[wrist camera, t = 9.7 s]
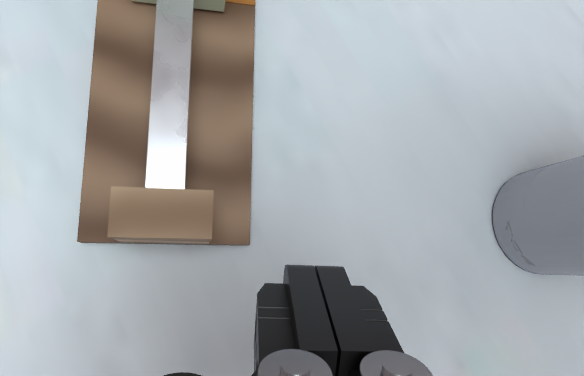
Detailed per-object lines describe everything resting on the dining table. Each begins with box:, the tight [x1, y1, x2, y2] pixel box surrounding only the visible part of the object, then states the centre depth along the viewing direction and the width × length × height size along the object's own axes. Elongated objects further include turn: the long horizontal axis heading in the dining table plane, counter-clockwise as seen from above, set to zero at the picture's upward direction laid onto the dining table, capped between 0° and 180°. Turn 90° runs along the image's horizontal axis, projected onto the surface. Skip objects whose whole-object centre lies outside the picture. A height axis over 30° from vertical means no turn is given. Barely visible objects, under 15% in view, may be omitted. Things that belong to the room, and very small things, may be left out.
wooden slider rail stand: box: [77, 0, 255, 245], centre depth 33 cm, size 28×12×8 cm, turn 0°
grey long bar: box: [145, 0, 194, 189], centre depth 32 cm, size 23×2×2 cm, turn 0°
